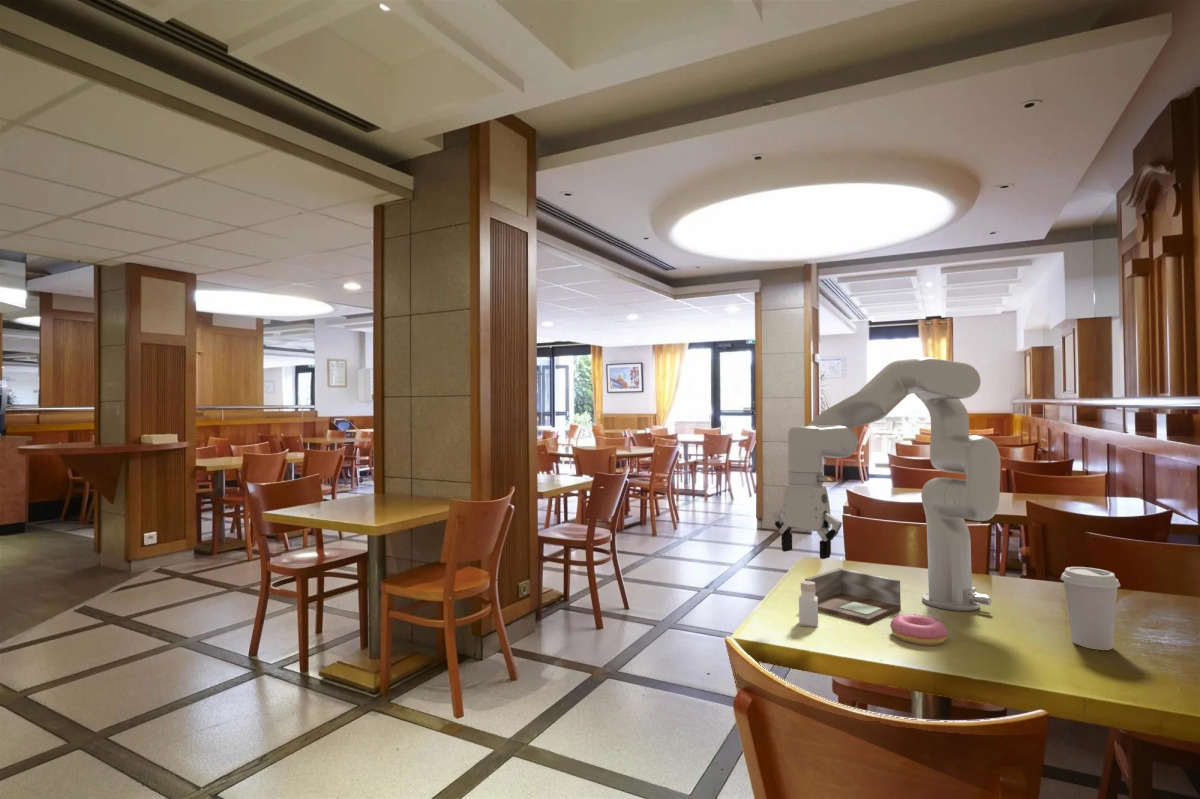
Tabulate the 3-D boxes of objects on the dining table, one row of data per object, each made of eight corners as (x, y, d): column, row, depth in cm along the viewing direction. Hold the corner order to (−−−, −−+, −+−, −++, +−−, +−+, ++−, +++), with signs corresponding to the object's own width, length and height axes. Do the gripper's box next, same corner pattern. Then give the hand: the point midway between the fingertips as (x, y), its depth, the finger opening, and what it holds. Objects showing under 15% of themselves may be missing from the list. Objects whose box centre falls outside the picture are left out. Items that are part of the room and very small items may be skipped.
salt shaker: (799, 626, 138) (798, 584, 138) (800, 620, 142) (799, 579, 142) (817, 628, 137) (816, 585, 137) (818, 622, 140) (817, 581, 141)
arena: (900, 609, 149) (899, 580, 149) (868, 624, 139) (867, 592, 139) (839, 595, 161) (838, 568, 161) (805, 608, 151) (805, 578, 151)
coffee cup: (1127, 657, 118) (1124, 579, 119) (1065, 648, 123) (1063, 573, 124) (1117, 641, 126) (1115, 569, 127) (1060, 633, 131) (1058, 563, 132)
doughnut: (954, 638, 130) (954, 618, 130) (938, 652, 122) (938, 631, 122) (900, 626, 138) (900, 607, 138) (882, 639, 130) (882, 619, 130)
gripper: (848, 481, 136) (849, 558, 135) (782, 476, 149) (782, 546, 149) (831, 483, 131) (831, 563, 130) (763, 477, 145) (764, 550, 144)
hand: (805, 554), depth 140 cm, fingers open, 9 cm apart
